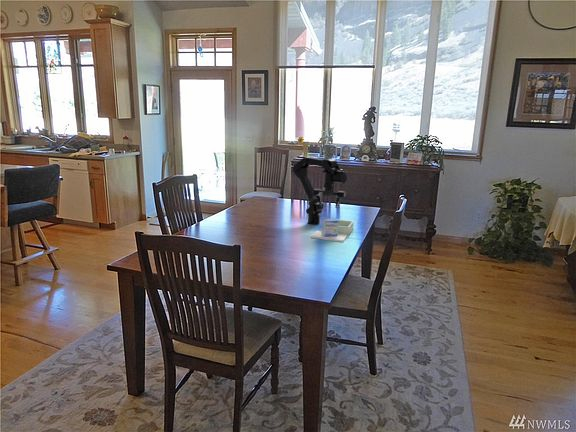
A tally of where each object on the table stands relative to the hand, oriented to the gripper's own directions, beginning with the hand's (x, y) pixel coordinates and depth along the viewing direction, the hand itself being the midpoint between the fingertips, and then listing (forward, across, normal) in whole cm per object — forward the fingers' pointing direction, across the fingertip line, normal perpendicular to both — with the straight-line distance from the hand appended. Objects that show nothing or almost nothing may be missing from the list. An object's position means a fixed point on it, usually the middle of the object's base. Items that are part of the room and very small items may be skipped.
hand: (328, 207), depth 240 cm
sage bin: (+12, +8, -6) cm, 16 cm away
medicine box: (+11, +6, -19) cm, 23 cm away
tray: (+12, +6, -19) cm, 23 cm away
